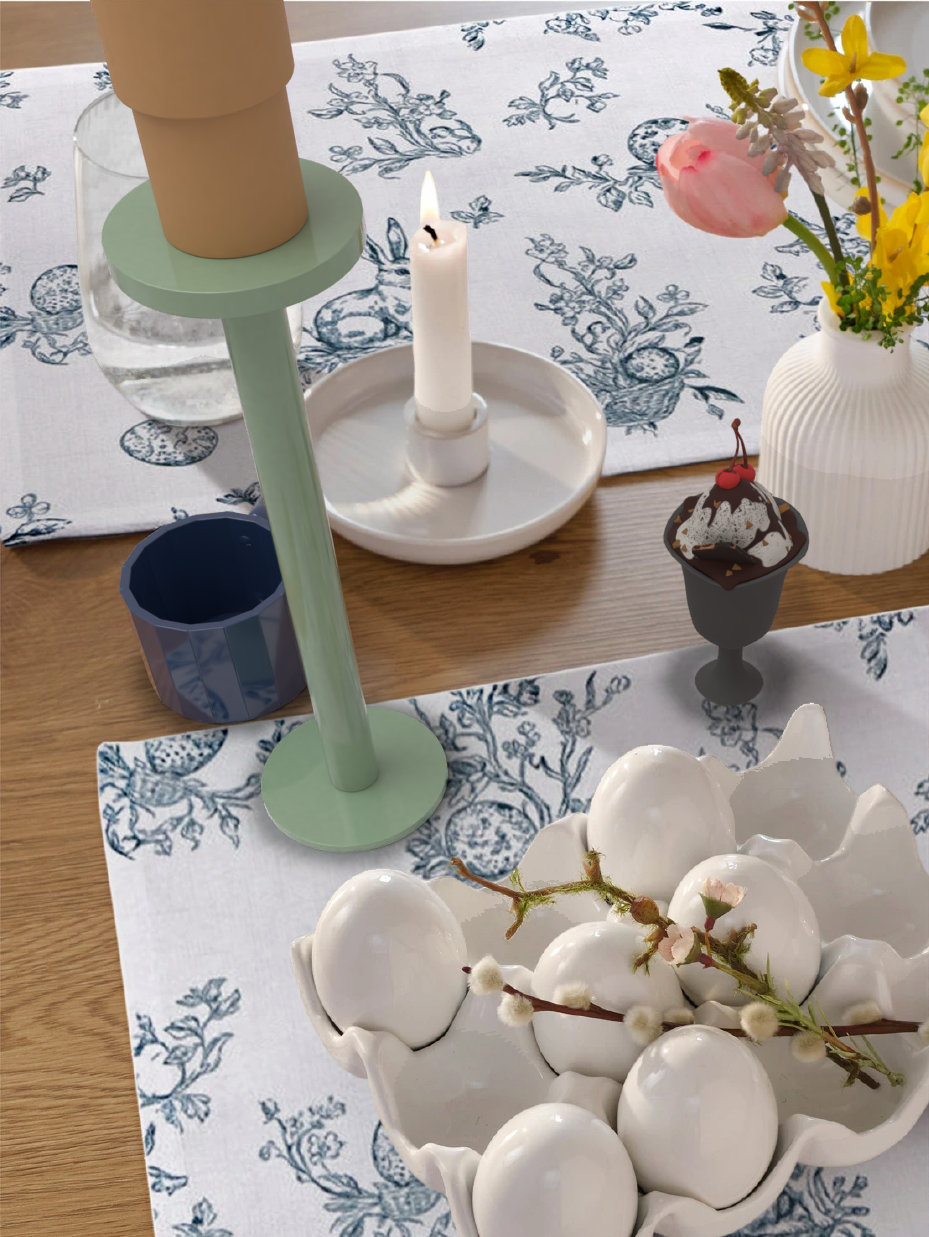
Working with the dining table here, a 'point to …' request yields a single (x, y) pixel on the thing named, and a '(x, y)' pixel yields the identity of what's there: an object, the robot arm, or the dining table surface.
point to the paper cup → (210, 117)
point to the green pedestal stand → (295, 513)
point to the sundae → (734, 570)
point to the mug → (213, 617)
